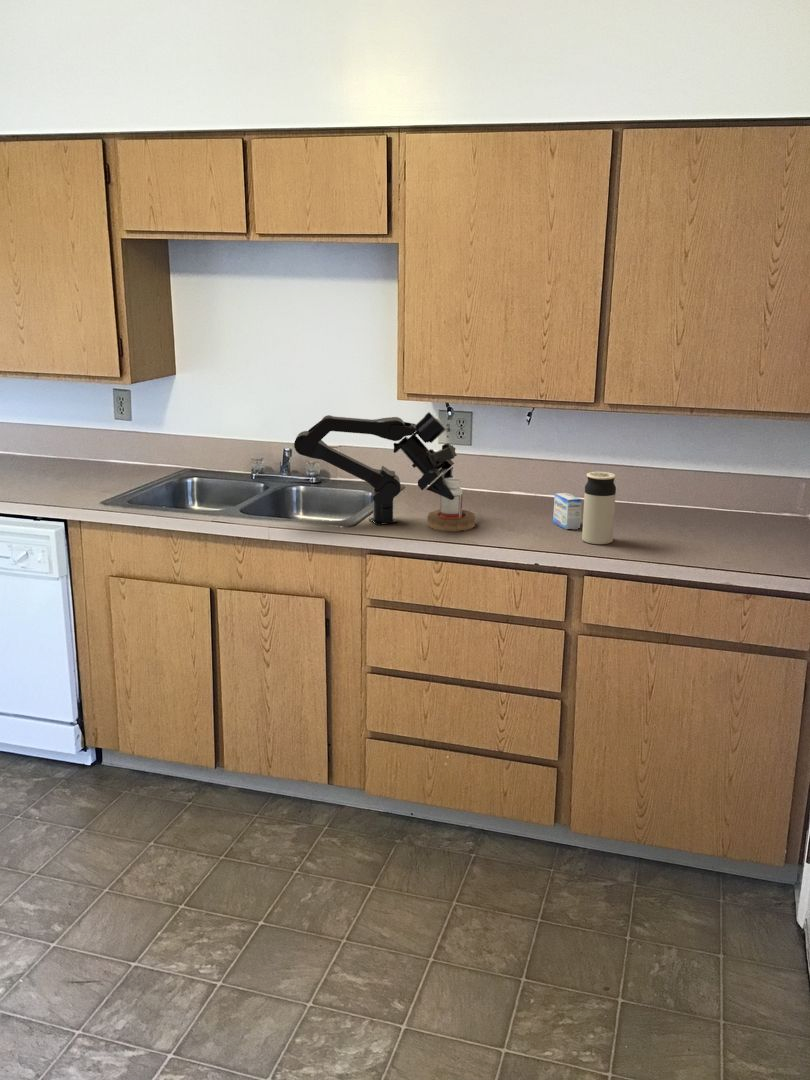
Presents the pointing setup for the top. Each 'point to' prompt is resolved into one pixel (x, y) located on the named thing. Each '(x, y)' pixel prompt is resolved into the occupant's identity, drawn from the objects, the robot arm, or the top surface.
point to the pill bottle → (452, 506)
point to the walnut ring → (451, 521)
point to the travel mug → (599, 508)
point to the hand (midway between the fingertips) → (456, 496)
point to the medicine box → (567, 511)
